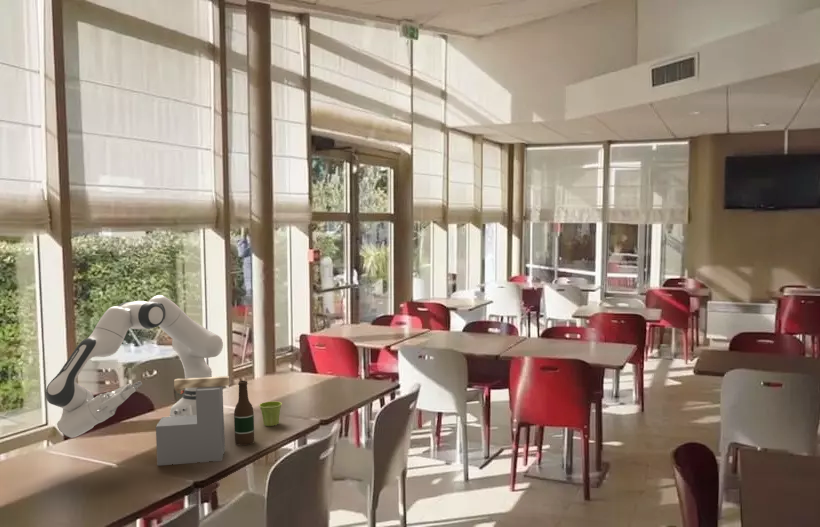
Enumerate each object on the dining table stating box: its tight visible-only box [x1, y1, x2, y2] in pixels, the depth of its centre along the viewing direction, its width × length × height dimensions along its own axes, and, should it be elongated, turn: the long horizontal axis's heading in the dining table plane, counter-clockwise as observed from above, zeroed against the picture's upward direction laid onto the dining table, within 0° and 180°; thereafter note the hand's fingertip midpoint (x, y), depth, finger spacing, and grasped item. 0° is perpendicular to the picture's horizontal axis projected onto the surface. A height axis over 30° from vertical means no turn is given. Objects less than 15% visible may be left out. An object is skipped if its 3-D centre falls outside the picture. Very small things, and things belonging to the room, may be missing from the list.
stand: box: [155, 386, 226, 466], centre depth 251 cm, size 22×12×26 cm, turn 100°
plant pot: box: [258, 400, 283, 427], centre depth 292 cm, size 9×9×9 cm
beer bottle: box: [233, 380, 255, 446], centre depth 268 cm, size 8×8×24 cm
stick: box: [173, 375, 230, 390], centre depth 251 cm, size 19×2×3 cm, turn 100°
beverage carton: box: [173, 388, 186, 402], centre depth 332 cm, size 8×19×7 cm, turn 38°
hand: (138, 385), depth 247 cm, fingers open, 8 cm apart
